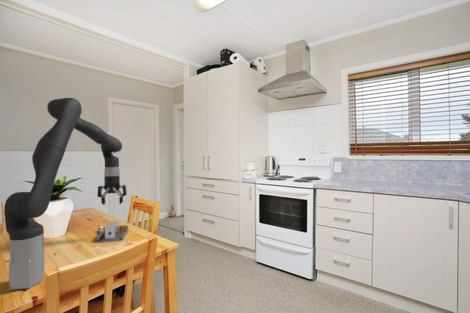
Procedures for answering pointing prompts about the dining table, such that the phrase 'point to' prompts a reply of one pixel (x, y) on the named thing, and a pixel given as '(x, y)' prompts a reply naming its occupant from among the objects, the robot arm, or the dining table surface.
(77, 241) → the dining table surface
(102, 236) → the grey channel bracket
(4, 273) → the dining table surface
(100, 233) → the hitch pin
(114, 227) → the grey metal block
